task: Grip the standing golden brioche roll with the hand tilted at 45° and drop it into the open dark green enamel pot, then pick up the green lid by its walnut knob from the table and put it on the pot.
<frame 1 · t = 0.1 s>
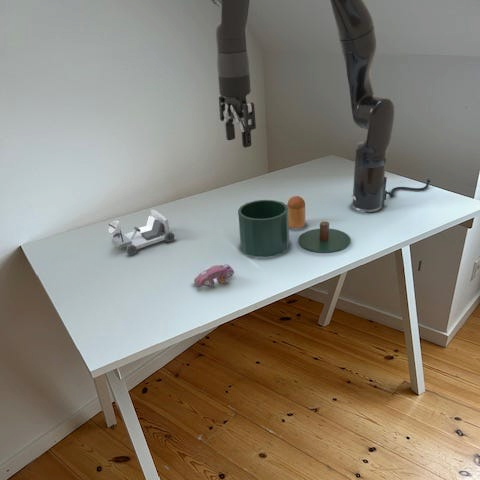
hand: (238, 143, 124), 29 cm above the table, tool pointing down, fingers open, 8 cm apart
video game controller: (215, 285, 125), on the table
toy car: (140, 243, 148), on the table
pot: (264, 247, 140), on the table
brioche: (296, 226, 149), on the table
lid: (324, 241, 139), point 1 cm above the table
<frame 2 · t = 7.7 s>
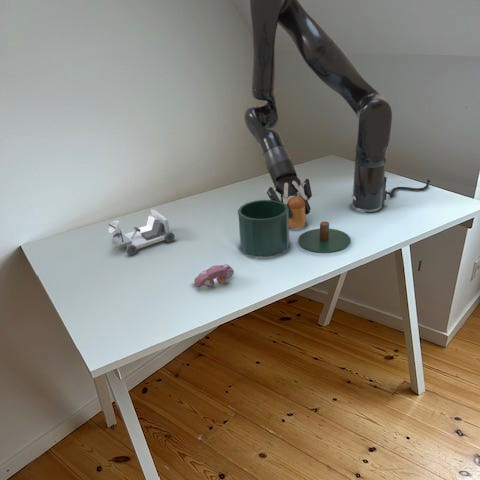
hand: (299, 215, 146), 4 cm above the table, tool tilted 45°, fingers closed on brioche, 5 cm apart
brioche: (296, 226, 149), on the table, touching gripper
everything else where it was.
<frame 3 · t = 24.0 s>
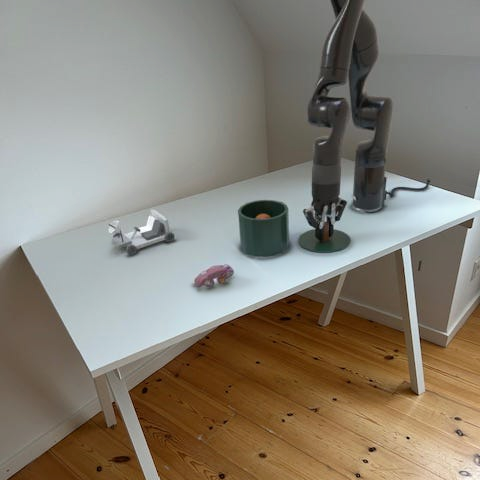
hand: (324, 237, 138), 2 cm above the table, tool pointing down, fingers closed on lid, 2 cm apart
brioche: (264, 245, 139), resting on pot
lid: (324, 241, 139), point 1 cm above the table, touching gripper
everything else where it was.
when the fingers open (13 cm above the table, at t = 30.0 s): lid stays where it is, resting on pot.
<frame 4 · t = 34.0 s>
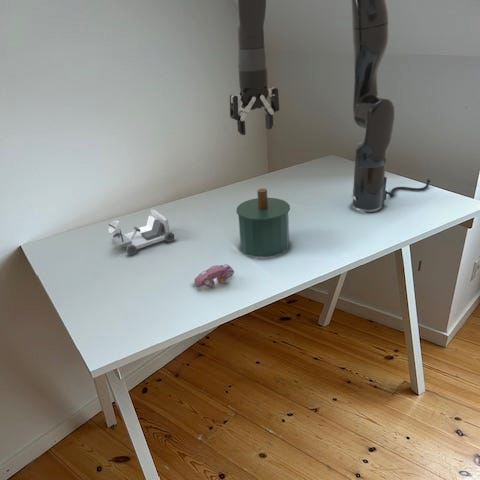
hand: (255, 131, 136), 28 cm above the table, tool pointing down, fingers open, 8 cm apart
lid: (263, 209, 133), point 11 cm above the table, touching pot
everything else where it was.
at the end: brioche inside the target area in the pot (0.1 cm from its centre), point 0.5 cm above the pot's base; lid 0.0 cm off-centre on the pot, point 11.5 cm above the pot's base; lid tilted 0° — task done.
